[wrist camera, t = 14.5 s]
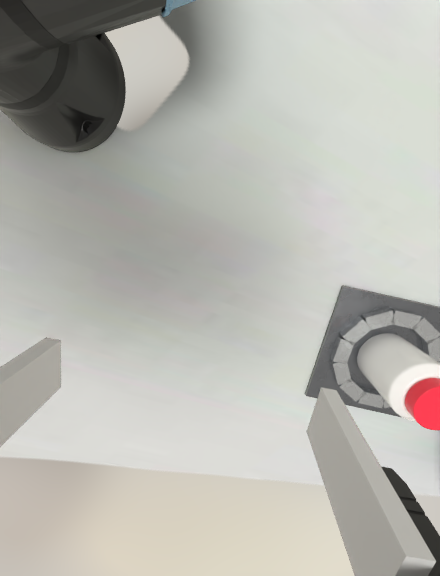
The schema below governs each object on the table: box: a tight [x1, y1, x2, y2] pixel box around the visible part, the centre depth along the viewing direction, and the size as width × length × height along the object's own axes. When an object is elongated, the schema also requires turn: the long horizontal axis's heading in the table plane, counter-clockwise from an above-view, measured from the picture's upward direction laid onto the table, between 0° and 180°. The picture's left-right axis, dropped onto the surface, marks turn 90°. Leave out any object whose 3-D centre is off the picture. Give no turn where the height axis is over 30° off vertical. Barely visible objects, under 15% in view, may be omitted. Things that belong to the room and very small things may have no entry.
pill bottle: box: [357, 333, 440, 430], centre depth 33 cm, size 8×8×11 cm
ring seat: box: [305, 286, 440, 417], centre depth 38 cm, size 18×18×2 cm
